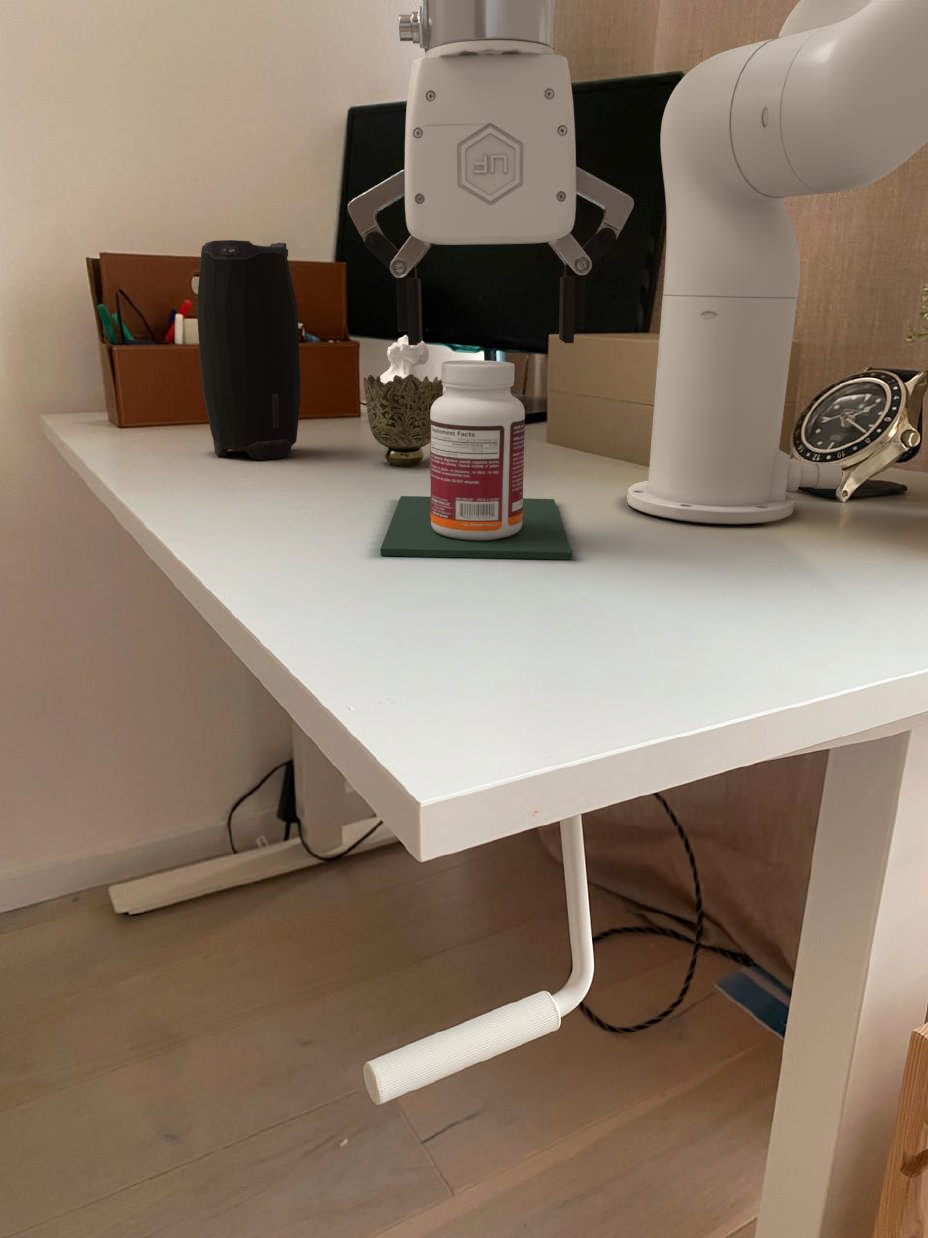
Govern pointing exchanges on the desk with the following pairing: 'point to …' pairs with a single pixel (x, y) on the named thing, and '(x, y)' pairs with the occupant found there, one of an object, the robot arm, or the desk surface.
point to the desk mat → (532, 541)
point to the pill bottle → (477, 452)
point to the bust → (404, 359)
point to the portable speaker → (249, 347)
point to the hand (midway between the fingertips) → (490, 342)
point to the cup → (401, 415)
